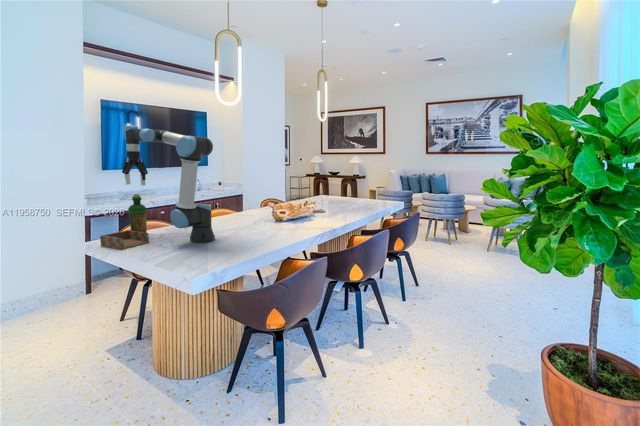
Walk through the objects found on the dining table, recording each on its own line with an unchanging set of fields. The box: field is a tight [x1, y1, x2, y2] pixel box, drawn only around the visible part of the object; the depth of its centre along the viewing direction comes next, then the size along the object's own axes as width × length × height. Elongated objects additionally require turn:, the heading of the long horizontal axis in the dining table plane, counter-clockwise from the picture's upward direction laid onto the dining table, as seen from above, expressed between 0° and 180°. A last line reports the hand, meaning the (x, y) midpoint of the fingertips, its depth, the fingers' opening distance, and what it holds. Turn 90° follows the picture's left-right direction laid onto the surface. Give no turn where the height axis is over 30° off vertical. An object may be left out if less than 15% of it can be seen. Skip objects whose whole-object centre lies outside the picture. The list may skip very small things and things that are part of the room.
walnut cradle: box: [99, 229, 150, 251], centre depth 217 cm, size 18×18×6 cm
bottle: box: [127, 193, 148, 233], centre depth 235 cm, size 11×11×28 cm
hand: (135, 184), depth 231 cm, fingers open, 13 cm apart
